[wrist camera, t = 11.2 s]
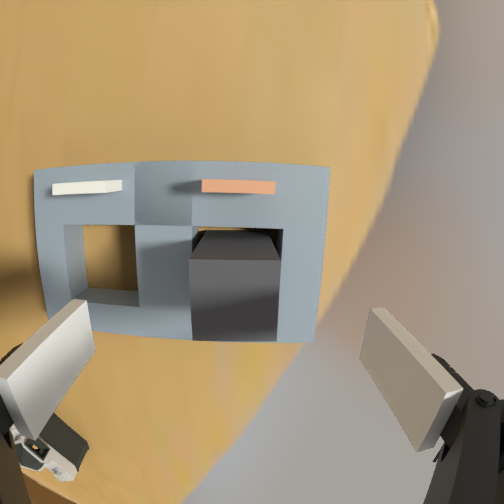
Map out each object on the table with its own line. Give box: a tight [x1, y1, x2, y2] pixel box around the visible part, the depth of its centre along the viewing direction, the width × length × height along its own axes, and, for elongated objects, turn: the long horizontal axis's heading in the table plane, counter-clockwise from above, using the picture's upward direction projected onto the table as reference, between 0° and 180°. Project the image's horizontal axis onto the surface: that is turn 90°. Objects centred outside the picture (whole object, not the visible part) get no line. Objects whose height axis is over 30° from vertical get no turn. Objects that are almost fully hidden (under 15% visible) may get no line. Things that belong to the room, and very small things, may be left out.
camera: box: [10, 412, 89, 482], centre depth 27 cm, size 16×9×10 cm, turn 39°
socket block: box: [34, 161, 330, 343], centre depth 23 cm, size 24×14×7 cm, turn 88°
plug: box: [188, 230, 281, 342], centre depth 22 cm, size 5×5×10 cm
